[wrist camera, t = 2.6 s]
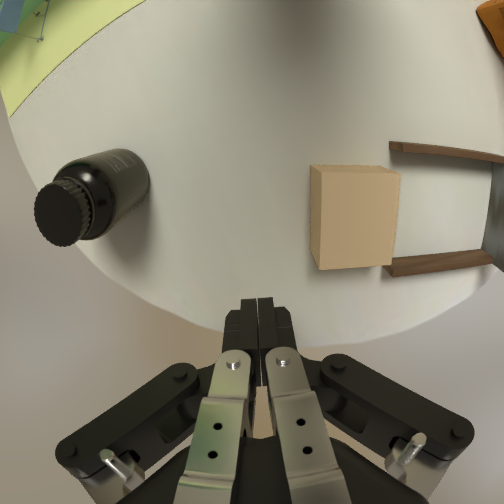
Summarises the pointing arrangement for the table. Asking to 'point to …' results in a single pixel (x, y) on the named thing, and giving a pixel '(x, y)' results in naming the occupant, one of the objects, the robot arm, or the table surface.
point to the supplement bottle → (90, 196)
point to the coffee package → (494, 20)
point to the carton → (353, 215)
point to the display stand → (46, 38)
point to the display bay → (496, 231)
